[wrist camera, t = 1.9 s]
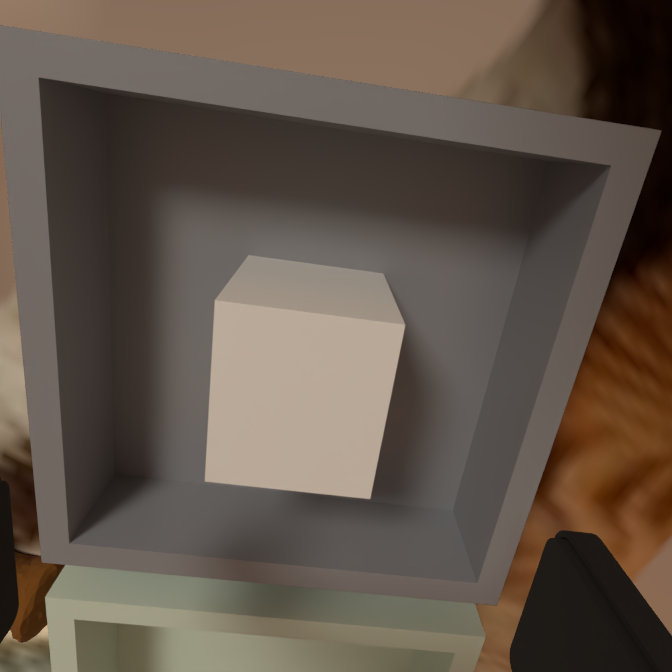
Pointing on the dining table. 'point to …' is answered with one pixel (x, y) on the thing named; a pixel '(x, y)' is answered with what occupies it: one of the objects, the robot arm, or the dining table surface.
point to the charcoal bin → (308, 247)
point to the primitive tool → (32, 594)
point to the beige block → (301, 377)
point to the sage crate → (248, 627)
